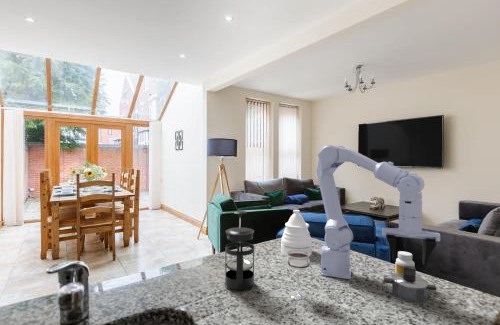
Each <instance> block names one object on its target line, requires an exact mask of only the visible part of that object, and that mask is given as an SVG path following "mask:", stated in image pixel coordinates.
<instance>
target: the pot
mask: <svg viewBox="0 0 500 325" xmlns="http://www.w3.org/2000/svg"><path fill="white" fill-rule="evenodd" d="M383 283H384V284H390V285H391V293H392V295H393V296H394V297H396V298H397V299H398V300H399V299H400V300H401V301H404V302H407V303H411V304H412V303H413V304H423V303H425V302H426V301H428V299H427V298H428V290H429V291H434V292H437V286H436V285H435V284H429V283H428V287H427V288H425V289H410V288H406V287H403V286H400V285H398V284H396V283H394V282H393V281H392V278H388V277H383Z"/></svg>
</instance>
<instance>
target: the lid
mask: <svg viewBox="0 0 500 325" xmlns="http://www.w3.org/2000/svg"><path fill="white" fill-rule="evenodd" d="M416 274H417V268H416V267H415V268H414V267H411V266H403V273H395V272H394V273H393V274H392V275H391V279H392V281H393V282H394V283H396V284H398V285H400V286H403V287H406V288H410V289H425V288H427V287H428V284H429V283H428V281H427V280H426V279H425V278H423V277H421V276H418V275H416Z"/></svg>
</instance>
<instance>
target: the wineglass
mask: <svg viewBox="0 0 500 325" xmlns="http://www.w3.org/2000/svg"><path fill="white" fill-rule="evenodd" d="M287 255H288V256H287ZM287 255H286V263H287V264H286V265H287V267H288V268H289V269H290V270H291V271H292V272H294V273H295V274H296V290H292V291H290V292H289V297H290V298H292V299H295V300H304V299H306V298H307V293H305V292H303V290H302V291H301V290H299V288H300V287H299V286H300V274H301V273H303V272H305V271H306V270H308V269H309V267H310V265H311V259H310V256H311V255H310V254H309V253H308V252H306V251H302V250H291V251H288V252H287Z"/></svg>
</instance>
